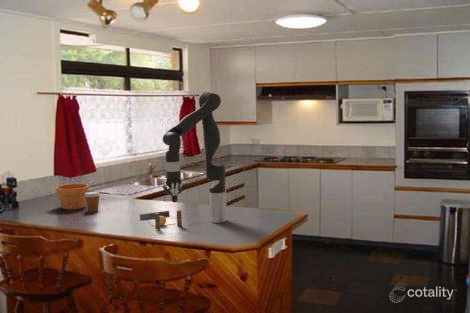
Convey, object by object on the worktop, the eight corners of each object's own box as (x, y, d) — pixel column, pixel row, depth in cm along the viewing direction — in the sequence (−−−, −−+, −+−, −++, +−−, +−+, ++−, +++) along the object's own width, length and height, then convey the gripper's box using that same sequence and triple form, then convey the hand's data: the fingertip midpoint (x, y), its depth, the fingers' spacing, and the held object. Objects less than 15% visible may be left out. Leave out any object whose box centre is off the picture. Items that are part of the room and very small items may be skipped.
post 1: (154, 229, 297) (154, 213, 296) (159, 228, 298) (158, 212, 297) (156, 230, 295) (155, 214, 294) (160, 229, 296) (159, 213, 295)
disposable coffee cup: (87, 212, 344) (86, 194, 343) (84, 210, 352) (83, 192, 351) (102, 211, 348) (101, 192, 347) (98, 208, 357) (97, 190, 355)
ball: (159, 227, 301) (155, 226, 306) (168, 224, 303) (164, 223, 308) (157, 217, 300) (154, 216, 305) (166, 215, 303) (163, 214, 308)
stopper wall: (139, 219, 323) (139, 214, 322) (168, 215, 330) (168, 210, 329) (140, 219, 321) (140, 214, 320) (169, 216, 328) (169, 211, 328)
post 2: (176, 226, 302) (176, 210, 301) (181, 225, 303) (180, 210, 302) (178, 227, 300) (177, 211, 299) (182, 226, 301) (181, 210, 300)
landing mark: (146, 221, 315) (146, 221, 315) (169, 218, 321) (169, 218, 321) (153, 226, 302) (153, 226, 302) (176, 223, 308) (176, 223, 308)
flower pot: (96, 204, 369) (94, 183, 367) (76, 211, 349) (75, 189, 347) (70, 203, 376) (69, 182, 374) (50, 210, 357) (49, 188, 355)
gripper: (182, 168, 289) (184, 199, 291) (159, 170, 284) (160, 202, 286) (187, 169, 282) (188, 201, 284) (163, 171, 277) (164, 204, 279)
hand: (174, 202), depth 285 cm, fingers closed
